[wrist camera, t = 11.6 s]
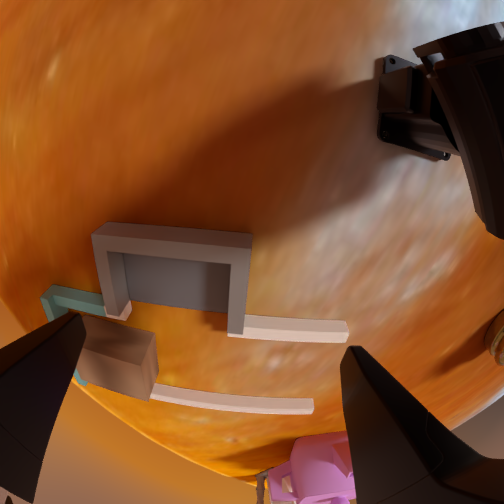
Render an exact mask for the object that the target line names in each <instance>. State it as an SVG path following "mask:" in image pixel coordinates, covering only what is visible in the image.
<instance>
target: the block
mask: <svg viewBox="0 0 504 504" xmlns="http://www.w3.org/2000/svg"><path fill="white" fill-rule="evenodd" d="M82 319H83V322H84V325H85V328H86V332H87V335H86V339H85V342H84V345H83V348H82V351H81V354H80V357H79V360H78V363H77V366H76V369H77V371H78V373H79V376H80V378H81V380H84V381H87V382H89V383H92V384H94V385H97V386H100V387H103V388H106V389H109V390H111V391H114V392H118V393H121V394H124V395H127V396H130V397H134V398H137V399H141V400H144V401H149V398H150V395H151V392H152V389H153V386H154V384H155V381H156V378H157V375H158V372H159V368H158V359H157V350H156V340H155V333H153V332H149V331H144V330H140V329H136V328H132V327H128V326H124V325H121V324H117V323H113V322H110V321H106V320H102V319H99V318H96V317H92V316H89V315H86V314H85V315H84V317H83V318H82Z"/></svg>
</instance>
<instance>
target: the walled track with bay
mask: <svg viewBox="0 0 504 504" xmlns="http://www.w3.org/2000/svg"><path fill="white" fill-rule="evenodd" d="M252 236H253V234H250V233H240V232H229V231H218V230H206V229H195V228H183V227H171V226H158V225H146V224H132V223H118V222H106V223H105V224H103V225H102V226H101V227H99V228H98V229H97V230H95V231H94V232H93V233H92V234H91V238H92V245H93V251H94V257H95V262H96V268H97V273H98V278H99V282H100V287H101V291H102V294H97V293H92V292H87V291H82V290H77V289H72V288H68V287H63V286H59V285H54V284H52V285H51V286H50V287H49V288H48V289H47V291H46V292H45V293H44V294H43V295H42V296H41V297H40V300H41V303H42V305H43V308H44V311H45V313H46V316H47V319H48V321H49V322H51V321H53V320H54V319H56V318H58V317H60V316H62V315H64V314H66V313H68V312H69V311H68V308H70V309H74V310H78V311H82V312H87V313H91V314H95V315H100V316H104V317H109V318H114V319H118V320H123V321H126V320H127V318H128V316H129V315H130V313H131V311H132V306H131V301H130V300H133V301H139V302H145V303H152V304H158V305H165V306H172V307H179V308H187V309H195V310H203V311H212V312H221V313H228V327H227V333H228V336H230V337H240V338H251V339H263V340H278V341H296V342H325V343H345V342H346V340H347V337H348V335H349V330H348V327H347V324H346V322H345V321H342V320H317V319H299V318H283V317H270V316H257V315H246V314H245V309H246V299H247V289H248V279H249V269H250V259H251V249H252ZM74 376H75V378H76V380H77V382H78V383H79V384H81V385H84V386H86V385H87V383H88V382H87V381H84V380H81V378H80V376H79V373H78V371H77V369H75V372H74ZM150 398H152V399H156V400H161V401H166V402H171V403H176V404H182V405H188V406H194V407H201V408H208V409H216V410H225V411H235V412H248V413H264V414H312V412H313V411H314V403H313V398H272V397H254V396H241V395H230V394H221V393H212V392H205V391H198V390H191V389H185V388H179V387H173V386H168V385H162V384H157V383H155V384H154V386H153V389H152V392H151V395H150Z"/></svg>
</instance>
